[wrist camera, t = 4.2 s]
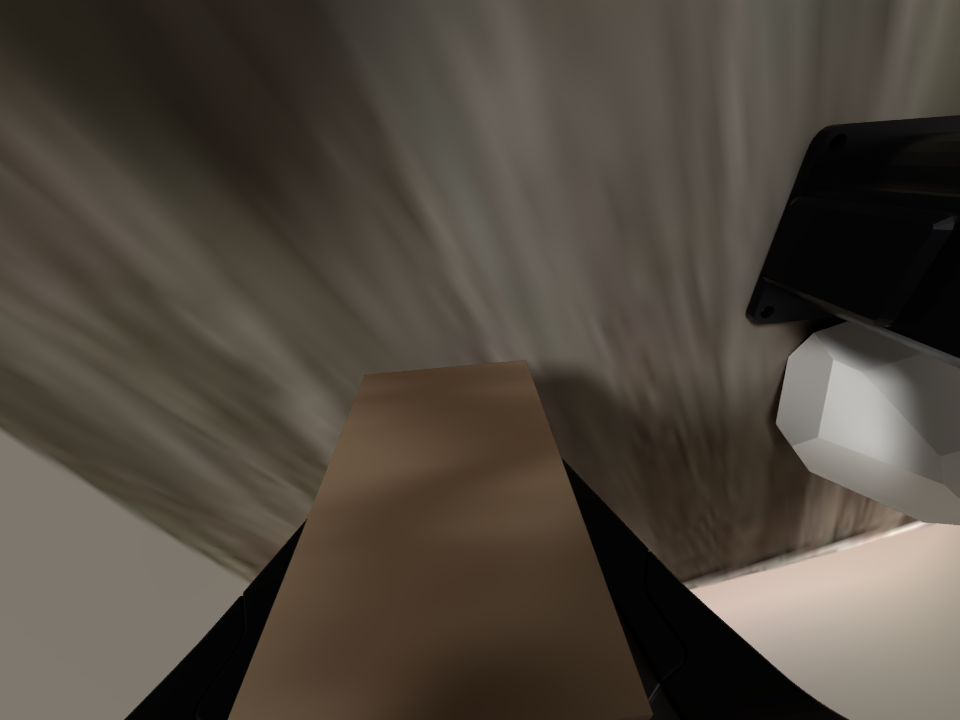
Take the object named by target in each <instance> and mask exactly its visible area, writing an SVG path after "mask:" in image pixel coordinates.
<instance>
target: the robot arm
mask: <svg viewBox="0 0 960 720" xmlns="http://www.w3.org/2000/svg"><path fill="white" fill-rule="evenodd" d="M833 138H834V142H833V145H832V146H831V148H830V149H829V150H828V148H829V144H830V142H831V141H832V139H833ZM764 308H765V309H764ZM763 309H764V311H762V310H763ZM747 316H748V317H749V318H750V319H752V320H753V321H755V322H757V323H761V324H764V323H775V322H786V321H797V320H808V319H819V318H830V317H839V318H842V319H844V320H846V321H849V322H851V323H853V324H856V325H858V326H861V327H863V328H865V329H868V330H870V331H872V332H875V333H877V334H879V335H882V336H884V337H887V338H889V339H891V340H894V341H896V342H898V343H901V344H903V345H906V346H908V347H910V348H913V349H915V350H917V351H920V352H922V353H924V354H927V355H929V356H932V357H934V358H936V359H939V360H941V361H943V362H946V363H948V364H951V365H953V366H955V367H958V368H960V115H957V116H944V117H930V118H917V119H904V120H890V121H877V122H864V123H850V124H837V125H831V126H827V127H825V128H824V129H822V130H821V131H819V132H818V134H817V135H816V136H815V137H814V138H813V140H812V142H811V144H810V146H809V148H808V151H807V153H806V156H805V159H804V161H803V164H802V167H801V169H800V172H799V174H798V177H797V180H796V182H795V185H794V188H793V190H792V193H791V195H790V198H789V201H788V203H787V206H786V209H785V211H784V214H783V216H782V219H781V222H780V224H779V227H778V230H777V232H776V235H775V237H774V240H773V243H772V245H771V248H770V251H769V253H768V256H767V258H766V261H765V264H764V266H763V269H762V272H761V274H760V277H759V279H758V282H757V285H756V287H755V290H754V293H753V295H752V298H751V301H750V303H749V306H748V308H747ZM561 459H562V458H561ZM562 462H563V465H564V468H565V470H566V473H567V476H568V479H569V482H570V484H571V487H572V490H573V493H574V495H575V498H576V501H577V504H578V507H579V509H580V512H581V515H582V518H583V521H584V523H585V526H586V529H587V532H588V534H589V537H590V540H591V543H592V546H593V548H594V551H595V554H596V557H597V560H598V562H599V565H600V568H601V571H602V573H603V576H604V579H605V582H606V585H607V587H608V590H609V593H610V596H611V599H612V601H613V604H614V607H615V610H616V612H617V615H618V618H619V621H620V624H621V626H622V629H623V632H624V635H625V638H626V640H627V643H628V646H629V649H630V651H631V654H632V657H633V660H634V663H635V665H636V668H637V671H638V674H639V677H640V679H641V682H642V685H643V688H644V690H645V693H646V696H647V699H648V702H649V704H650V707H651V710H652V713H653V715H652V717H651V718H650V720H849V719H847V718H845V717H843V716H841V715H840V714H838V713H836V712H835V711H833V710H831V709H830V708H828V707H827V706H825V705H823V704H822V703H821V702H819V701H817V700H816V699H815V698H813V697H812V696H810V695H809V694H807V693H806V692H805V691H804V690H802V689H801V688H800V687H798V686H797V685H796V684H795V683H793V682H792V681H791V680H789V679H788V678H787V677H786V676H785V675H784V674H782V673H781V672H780V671H779V670H778V669H777V668H776V667H774V666H773V665H772V664H771V663H770V662H769V661H768V660H767V659H765V658H764V657H763V656H762V655H761V654H760V653H759V652H758V651H756V650H755V649H754V648H753V647H752V646H751V645H750V644H748V643H747V642H746V641H745V640H744V639H743V638H742V637H741V636H740V635H738V634H737V633H736V632H735V631H734V630H733V629H732V628H731V627H729V626H728V625H727V624H726V623H725V622H724V621H723V620H722V619H721V618H719V617H718V616H717V615H716V614H715V613H714V612H713V611H712V610H710V609H709V608H708V607H707V606H706V605H705V604H704V603H703V602H702V601H701V600H700V599H698V598H697V597H696V596H695V595H694V594H693V593H692V592H691V591H690V590H689V589H688V588H687V587H686V586H685V585H684V584H683V583H682V582H681V581H680V580H679V579H678V578H677V577H676V576H675V575H674V574H673V573H672V572H671V571H670V570H669V569H668V568H667V567H666V566H665V565H664V564H663V563H662V562H661V561H660V560H659V559H658V558H657V557H656V556H655V555H654V554H653V553H652V552H651V551H650V552H649V549H648V548H647V547H646V546H645V545H644V544H643V542H642V541H641V540H640V539H639V538H638V537H637V536H636V535H635V534H634V533H633V532H632V531H631V530H630V529H629V528H628V527H627V526H626V525H625V524H624V523H623V522H622V520H621V519H620V518H619V517H618V516H617V515H616V514H615V513H614V512H613V511H612V510H611V509H610V508H609V507H608V506H607V505H606V504H605V503H604V502H603V501H602V500H601V498H600V497H599V496H598V495H597V494H596V493H595V492H594V491H593V490H592V489H591V488H590V487H589V486H588V485H587V484H586V483H585V482H584V481H583V480H582V479H581V478H580V477H579V475H578V474H577V473H576V472H575V471H574V470H573V469H572V468H571V467H570V466H569V465H568V464H567V463H566V462H565V461H564V460H563V459H562ZM307 519H308V518H307ZM307 519H306V521H307ZM306 521H305V522H304V523H303V524H302V525H301V526H300V528H299V529H298V530H297V531H296V532H295V533H294V534H293V536H292V537H291V538H290V539H289V540H288V541H287V543H286V544H285V545H284V546H283V547H282V548H281V549H280V551H279V552H278V553H277V554H276V555H275V556H274V558H273V559H272V560H271V561H270V562H269V563H268V564H267V566H266V567H265V568H264V569H263V570H262V571H261V573H260V574H259V575H258V576H257V577H256V578H255V580H254V581H253V582H252V583H251V584H250V585H249V587H248V588H247V589H246V590H245V591H244V592H243V596H240V597H239V598H238V599H237V600H236V601H235V602H234V604H233V605H232V606H231V607H230V608H229V609H228V611H227V612H226V613H225V614H224V615H223V616H222V617H221V618H220V620H219V621H218V622H217V623H216V624H215V625H214V626H213V627H212V629H211V630H210V631H209V632H208V633H207V634H206V635H205V636H204V637H203V639H202V640H201V641H200V642H199V643H198V644H197V645H196V646H195V647H194V648H193V649H192V650H191V651H190V653H188V654H187V656H186V657H185V658H184V659H183V660H182V661H181V662H180V663H179V664H178V665H177V666H176V667H175V668H174V669H173V670H172V671H171V672H170V673H169V674H168V675H167V677H166V678H164V680H163V681H162V682H161V683H160V684H159V685H158V686H157V687H156V688H155V689H154V690H153V691H152V692H151V693H150V694H149V695H148V696H147V697H146V698H145V699H144V700H143V701H142V702H141V703H140V704H139V705H138V706H137V707H136V708H135V709H134V710H133V711H132V712H131V713H130V714H129V715H128V717H126V718H125V719H124V720H228V718H229V715H230V713H231V710H232V708H233V705H234V703H235V700H236V698H237V695H238V693H239V690H240V688H241V685H242V682H243V680H244V677H245V675H246V672H247V670H248V667H249V665H250V662H251V660H252V657H253V655H254V652H255V650H256V647H257V645H258V642H259V640H260V637H261V635H262V632H263V630H264V627H265V625H266V622H267V619H268V617H269V614H270V612H271V609H272V607H273V604H274V602H275V599H276V597H277V594H278V592H279V589H280V587H281V584H282V582H283V579H284V577H285V574H286V572H287V569H288V567H289V564H290V562H291V559H292V556H293V554H294V551H295V549H296V546H297V544H298V541H299V539H300V536H301V534H302V531H303V529H304V526H305V524H306Z"/></svg>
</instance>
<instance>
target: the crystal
mask: <svg viewBox="0 0 960 720" xmlns="http://www.w3.org/2000/svg"><path fill="white" fill-rule="evenodd" d="M776 425H777V426H778V428H779V429H780V431H781V432H782V434H783V435H784V437H785V438H786V439H787V441H788V442H789V444H790V445H791V446H792V448H793V449H794V451H795V452H796V453H797V455H798V456H799V458H800V459H801V460H802V462H803V463H804V465H805V466H806V467H807V469H808V470H809V471H810V472H812V473H814V474H816V475H819V476H821V477H823V478H825V479H828V480H830V481H832V482H834V483H837V484H839V485H841V486H843V487H845V488H848V489H850V490H852V491H854V492H857V493H859V494H861V495H863V496H866V497H868V498H870V499H872V500H875V501H877V502H879V503H881V504H884V505H886V506H888V507H890V508H893V509H895V510H897V511H899V512H902V513H904V514H906V515H908V516H910V517H913V518H915V519H917V520H919V521H922V522H927V523H940V524H953V525H960V368H958V367H955V366H953V365H951V364H948V363H946V362H943V361H941V360H939V359H936V358H934V357H932V356H929V355H927V354H924V353H922V352H920V351H917V350H915V349H913V348H910V347H908V346H906V345H903V344H901V343H898V342H896V341H894V340H891V339H889V338H887V337H884V336H882V335H879V334H877V333H875V332H872V331H870V330H868V329H865V328H863V327H861V326H858V325H856V324H853V323H851V322H849V321H848V322H845V323H842V324H839V325H836V326H833V327H830V328H826V329H823V330H820V331H817V332H814V333H813V334H812V335H811V336H810V337H809V338H808V339H807V340H806V341H805V342H804V343H802V344H801V345H800V346H799V347H798V348H797V349H796V350H795V351H794V352H793V353H792V354H791V355H790V356H789V357H788V361H787V367H786V372H785V377H784V382H783V388H782V393H781V398H780V403H779V409H778V414H777V419H776Z"/></svg>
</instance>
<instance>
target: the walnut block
mask: <svg viewBox="0 0 960 720" xmlns="http://www.w3.org/2000/svg"><path fill="white" fill-rule="evenodd" d="M652 715H653V713H652V710H651V707H650V704H649V702H648V699H647V696H646V693H645V690H644V688H643V685H642V682H641V679H640V677H639V674H638V671H637V668H636V665H635V663H634V660H633V657H632V654H631V651H630V649H629V646H628V643H627V640H626V638H625V635H624V632H623V629H622V626H621V624H620V621H619V618H618V615H617V612H616V610H615V607H614V604H613V601H612V599H611V596H610V593H609V590H608V587H607V585H606V582H605V579H604V576H603V573H602V571H601V568H600V565H599V562H598V560H597V557H596V554H595V551H594V548H593V546H592V543H591V540H590V537H589V534H588V532H587V529H586V526H585V523H584V521H583V518H582V515H581V512H580V509H579V507H578V504H577V501H576V498H575V495H574V493H573V490H572V487H571V484H570V482H569V479H568V476H567V473H566V470H565V468H564V465H563V462H562V459H561V456H560V454H559V451H558V448H557V445H556V443H555V440H554V437H553V434H552V431H551V429H550V426H549V423H548V420H547V417H546V415H545V412H544V409H543V406H542V403H541V401H540V398H539V395H538V392H537V390H536V387H535V384H534V381H533V378H532V376H531V373H530V370H529V367H528V364H527V362H526V360H521V361H510V362H499V363H489V364H478V365H467V366H456V367H446V368H435V369H424V370H413V371H403V372H392V373H381V374H370V375H364V378H363V380H362V383H361V385H360V388H359V390H358V393H357V395H356V398H355V400H354V403H353V405H352V408H351V410H350V413H349V415H348V418H347V420H346V423H345V425H344V428H343V430H342V433H341V435H340V438H339V441H338V443H337V446H336V448H335V451H334V453H333V456H332V458H331V461H330V463H329V466H328V468H327V471H326V473H325V476H324V478H323V481H322V483H321V486H320V488H319V491H318V493H317V496H316V498H315V501H314V504H313V506H312V509H311V511H310V514H309V516H308V519H307V521H306V524H305V526H304V529H303V531H302V534H301V536H300V539H299V541H298V544H297V546H296V549H295V551H294V554H293V556H292V559H291V562H290V564H289V567H288V569H287V572H286V574H285V577H284V579H283V582H282V584H281V587H280V589H279V592H278V594H277V597H276V599H275V602H274V604H273V607H272V609H271V612H270V614H269V617H268V619H267V622H266V625H265V627H264V630H263V632H262V635H261V637H260V640H259V642H258V645H257V647H256V650H255V652H254V655H253V657H252V660H251V662H250V665H249V667H248V670H247V672H246V675H245V677H244V680H243V682H242V685H241V688H240V690H239V693H238V695H237V698H236V700H235V703H234V705H233V708H232V710H231V713H230V715H229V718H228V720H650V718H651V717H652Z"/></svg>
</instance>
